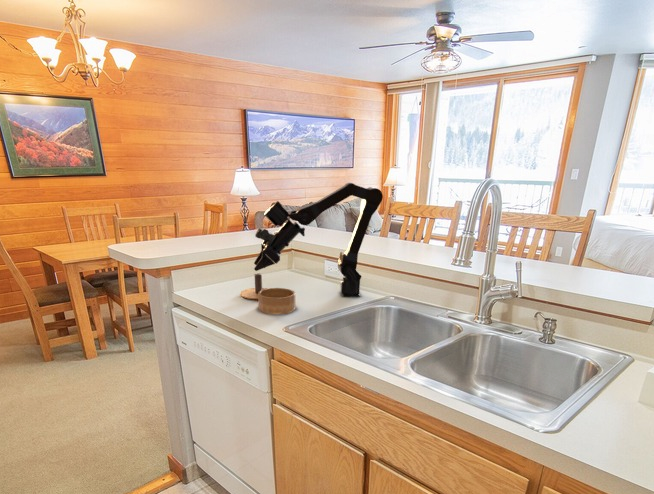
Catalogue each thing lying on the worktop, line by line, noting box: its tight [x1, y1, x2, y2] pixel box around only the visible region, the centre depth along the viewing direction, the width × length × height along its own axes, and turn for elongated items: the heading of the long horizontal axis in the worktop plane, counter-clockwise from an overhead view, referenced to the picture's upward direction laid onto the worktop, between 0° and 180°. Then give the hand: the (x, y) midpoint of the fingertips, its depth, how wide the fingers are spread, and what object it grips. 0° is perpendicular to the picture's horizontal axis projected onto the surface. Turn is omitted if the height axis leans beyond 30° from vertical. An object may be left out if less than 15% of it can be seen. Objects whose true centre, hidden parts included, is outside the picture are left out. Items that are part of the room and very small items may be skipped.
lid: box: [240, 273, 269, 300], centre depth 162 cm, size 13×13×8 cm
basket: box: [257, 287, 296, 315], centre depth 149 cm, size 12×12×6 cm
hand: (254, 267), depth 159 cm, fingers open, 9 cm apart
